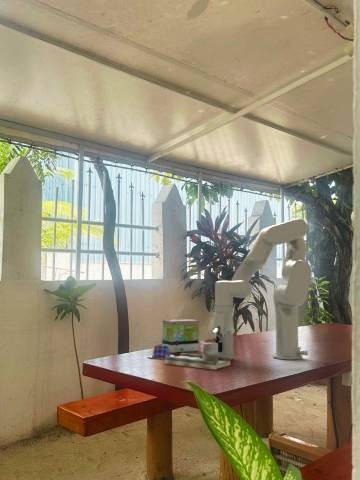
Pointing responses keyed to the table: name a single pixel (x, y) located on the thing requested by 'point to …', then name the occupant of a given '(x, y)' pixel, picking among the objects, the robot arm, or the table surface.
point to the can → (227, 346)
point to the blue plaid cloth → (161, 352)
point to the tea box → (181, 335)
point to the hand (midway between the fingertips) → (224, 350)
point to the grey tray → (201, 358)
